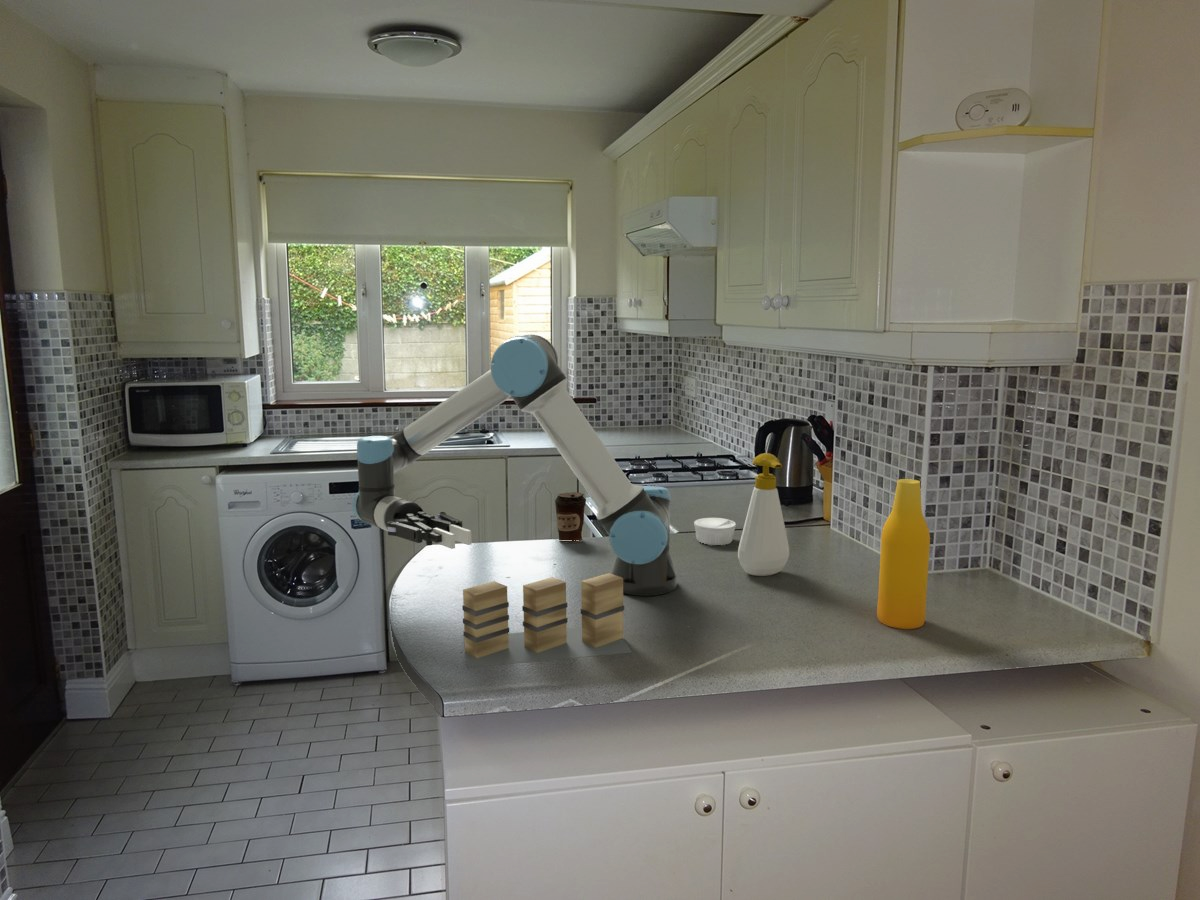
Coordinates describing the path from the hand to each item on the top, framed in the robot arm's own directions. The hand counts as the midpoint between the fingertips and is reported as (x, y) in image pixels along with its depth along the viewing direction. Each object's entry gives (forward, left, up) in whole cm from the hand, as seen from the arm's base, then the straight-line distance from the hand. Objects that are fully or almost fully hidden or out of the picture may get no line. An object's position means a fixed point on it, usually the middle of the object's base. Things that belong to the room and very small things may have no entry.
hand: (461, 539), depth 160 cm
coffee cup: (-32, -63, -20) cm, 74 cm away
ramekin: (-70, -54, -20) cm, 91 cm away
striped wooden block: (-4, +7, -20) cm, 21 cm away
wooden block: (-15, +7, -20) cm, 25 cm away
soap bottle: (-72, -24, -20) cm, 78 cm away
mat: (-15, +7, -20) cm, 26 cm away
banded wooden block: (-26, +7, -20) cm, 33 cm away
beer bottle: (-87, +10, -20) cm, 90 cm away
